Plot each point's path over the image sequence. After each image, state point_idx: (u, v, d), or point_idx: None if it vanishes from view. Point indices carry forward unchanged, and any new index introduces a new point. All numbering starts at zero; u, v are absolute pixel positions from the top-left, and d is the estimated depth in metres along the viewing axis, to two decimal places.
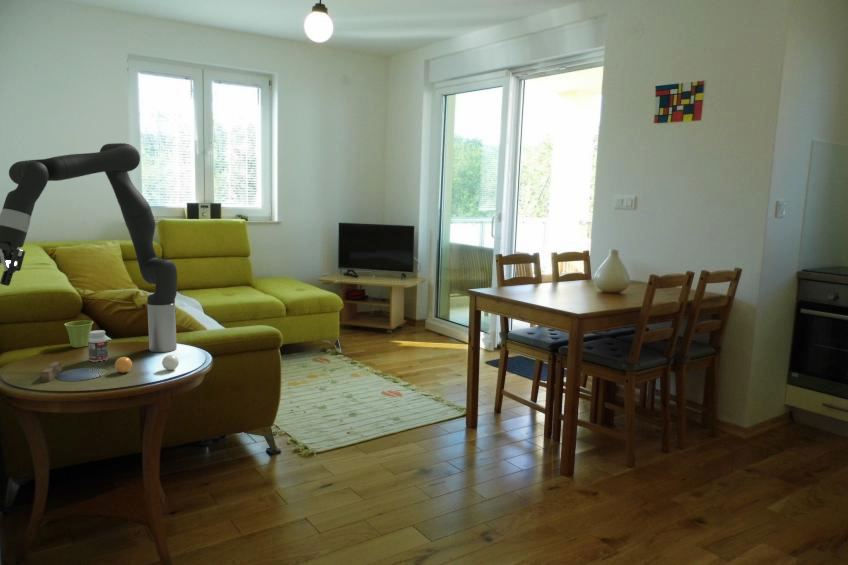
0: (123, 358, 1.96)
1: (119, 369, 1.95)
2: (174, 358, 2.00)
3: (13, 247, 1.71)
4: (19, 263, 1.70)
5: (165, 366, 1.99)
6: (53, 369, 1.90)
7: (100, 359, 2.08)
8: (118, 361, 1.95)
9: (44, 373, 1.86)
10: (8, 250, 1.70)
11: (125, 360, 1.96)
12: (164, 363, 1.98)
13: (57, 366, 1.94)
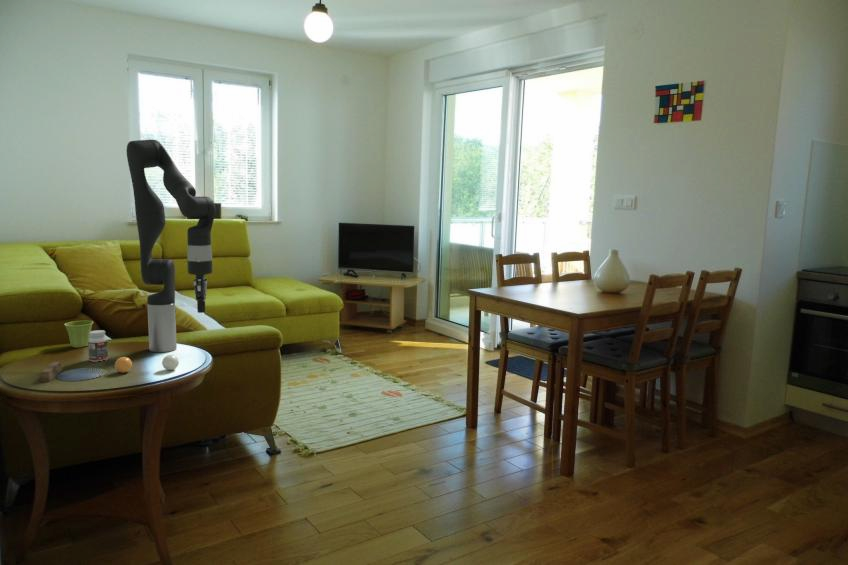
0: (123, 358, 1.96)
1: (119, 369, 1.95)
2: (174, 358, 2.00)
3: None
4: None
5: (165, 366, 1.99)
6: (53, 369, 1.90)
7: (100, 359, 2.08)
8: (118, 361, 1.95)
9: (44, 373, 1.86)
10: None
11: (125, 360, 1.96)
12: (164, 363, 1.98)
13: (57, 366, 1.94)
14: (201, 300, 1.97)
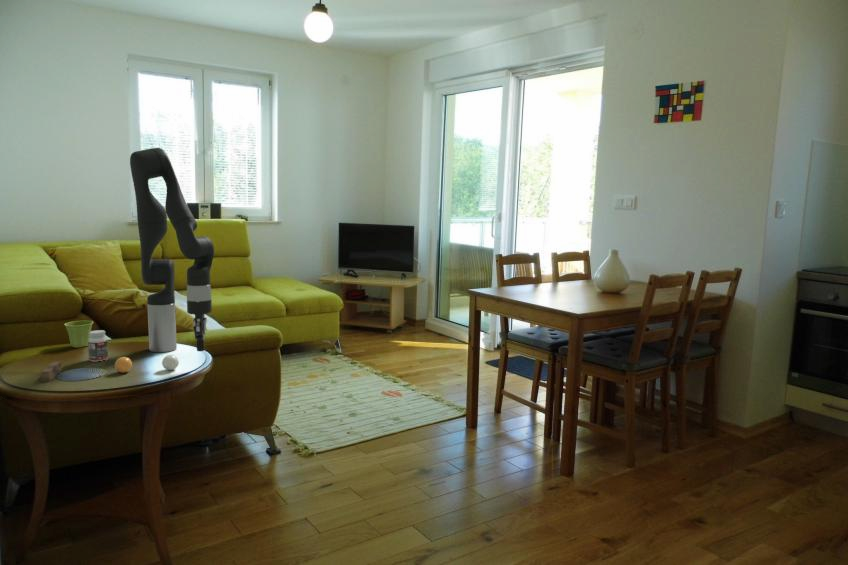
0: (123, 358, 1.96)
1: (119, 369, 1.95)
2: (174, 358, 2.00)
3: None
4: None
5: (165, 366, 1.99)
6: (53, 369, 1.90)
7: (100, 359, 2.08)
8: (118, 361, 1.95)
9: (44, 373, 1.86)
10: (204, 317, 2.04)
11: (125, 360, 1.96)
12: (164, 363, 1.98)
13: (57, 366, 1.94)
14: (201, 339, 1.99)
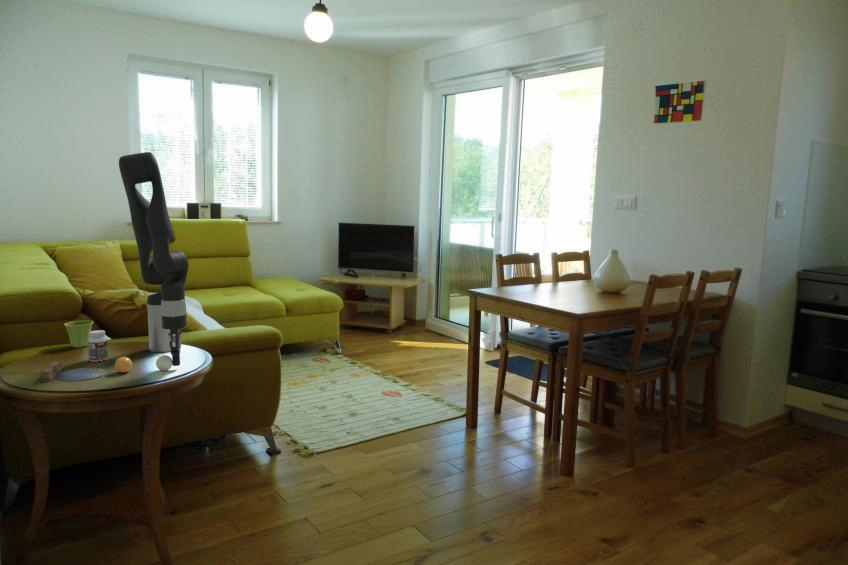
0: (123, 358, 1.96)
1: (119, 369, 1.95)
2: (165, 358, 1.99)
3: None
4: None
5: (160, 368, 1.98)
6: (53, 369, 1.90)
7: (100, 359, 2.08)
8: (118, 361, 1.95)
9: (44, 373, 1.86)
10: None
11: (125, 360, 1.96)
12: (158, 366, 1.98)
13: (57, 366, 1.94)
14: (176, 354, 1.99)
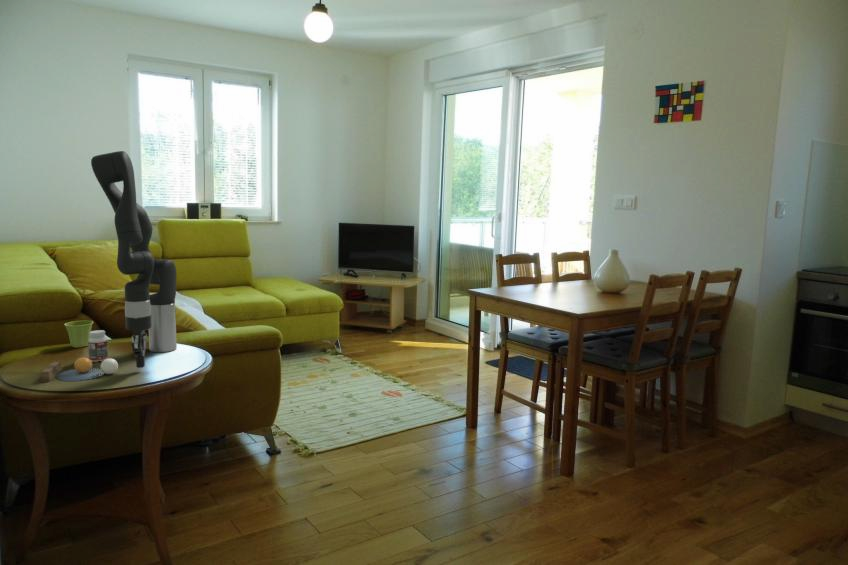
0: (90, 366, 1.95)
1: (77, 365, 1.93)
2: (112, 371, 1.94)
3: None
4: None
5: (104, 362, 1.93)
6: (53, 369, 1.90)
7: (100, 359, 2.08)
8: (86, 363, 1.94)
9: (44, 373, 1.86)
10: (144, 332, 2.00)
11: (88, 369, 1.95)
12: (108, 361, 1.93)
13: (57, 366, 1.94)
14: (140, 355, 1.96)
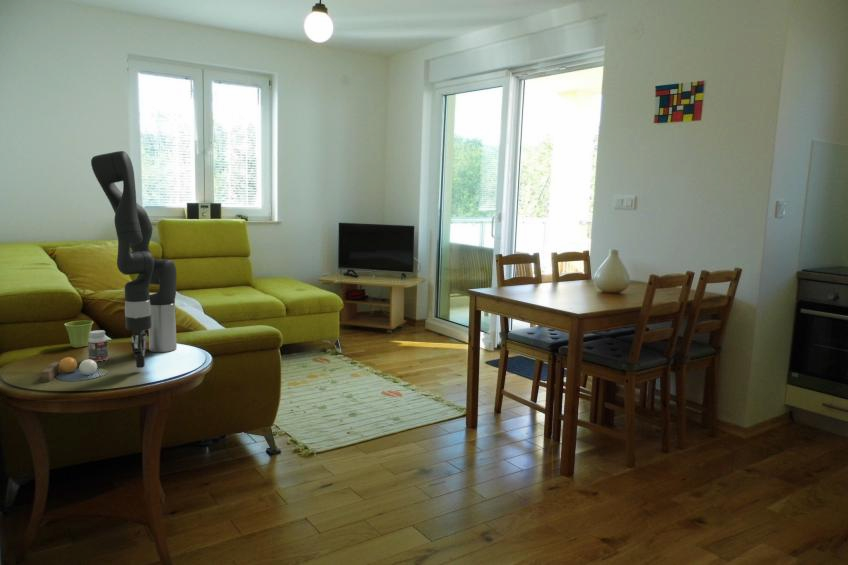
0: (65, 358, 1.94)
1: (64, 369, 1.93)
2: (85, 363, 1.92)
3: None
4: None
5: (85, 374, 1.92)
6: (53, 369, 1.90)
7: (100, 359, 2.08)
8: (60, 362, 1.93)
9: (44, 373, 1.86)
10: (144, 332, 2.00)
11: (67, 359, 1.94)
12: (82, 373, 1.92)
13: (57, 366, 1.94)
14: (140, 355, 1.96)
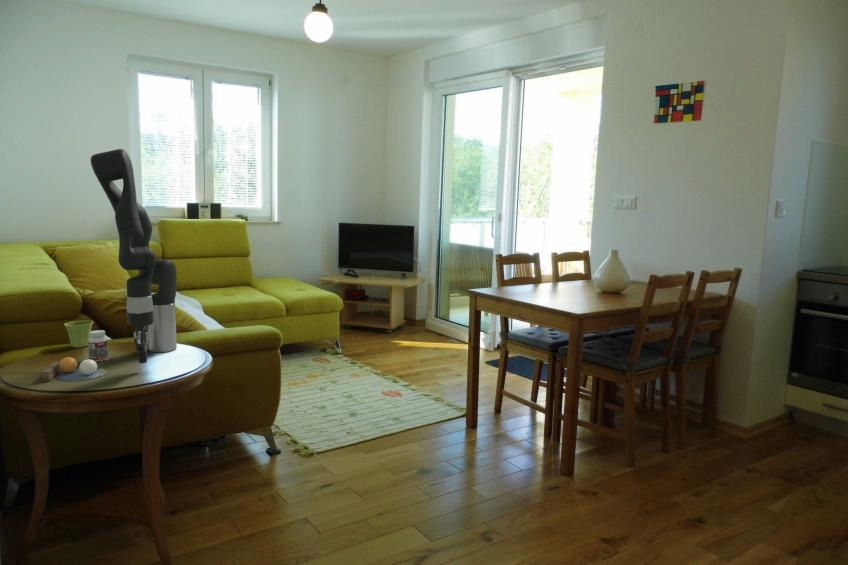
0: (65, 358, 1.94)
1: (64, 369, 1.93)
2: (85, 363, 1.92)
3: None
4: None
5: (85, 374, 1.92)
6: (53, 369, 1.90)
7: (100, 359, 2.08)
8: (60, 362, 1.93)
9: (44, 373, 1.86)
10: (146, 328, 2.00)
11: (67, 359, 1.94)
12: (82, 373, 1.92)
13: (57, 366, 1.94)
14: (142, 351, 1.96)
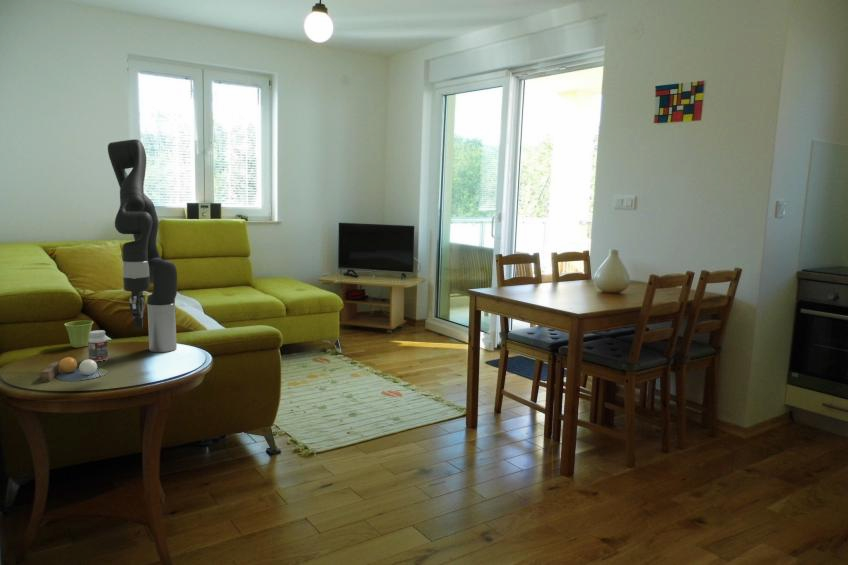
0: (65, 358, 1.94)
1: (64, 369, 1.93)
2: (85, 363, 1.92)
3: None
4: None
5: (85, 374, 1.92)
6: (53, 369, 1.90)
7: (100, 359, 2.08)
8: (60, 362, 1.93)
9: (44, 373, 1.86)
10: (142, 294, 1.98)
11: (67, 359, 1.94)
12: (82, 373, 1.92)
13: (57, 366, 1.94)
14: (138, 317, 1.94)
